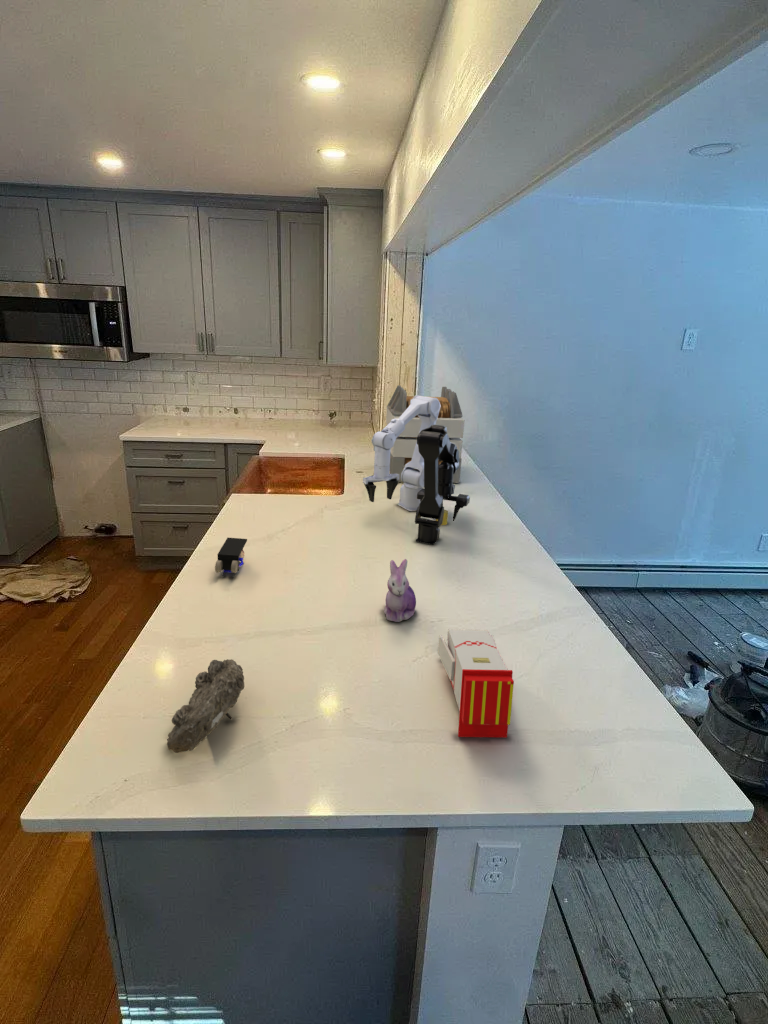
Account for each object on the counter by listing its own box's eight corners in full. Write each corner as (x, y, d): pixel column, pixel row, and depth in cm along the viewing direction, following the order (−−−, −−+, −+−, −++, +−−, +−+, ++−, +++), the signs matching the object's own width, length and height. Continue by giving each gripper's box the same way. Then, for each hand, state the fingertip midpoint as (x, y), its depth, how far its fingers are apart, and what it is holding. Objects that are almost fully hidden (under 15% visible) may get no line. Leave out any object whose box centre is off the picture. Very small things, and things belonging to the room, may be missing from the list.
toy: (488, 613, 130) (523, 677, 101) (484, 667, 133) (517, 744, 104) (435, 612, 130) (455, 676, 101) (432, 666, 133) (451, 743, 103)
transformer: (382, 463, 289) (386, 382, 275) (445, 464, 293) (451, 384, 279) (390, 482, 257) (394, 392, 243) (460, 483, 261) (468, 394, 247)
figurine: (392, 627, 141) (395, 572, 136) (374, 608, 149) (376, 556, 144) (425, 619, 145) (429, 566, 140) (405, 601, 154) (408, 550, 149)
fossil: (192, 660, 117) (244, 628, 112) (224, 691, 120) (276, 661, 115) (142, 746, 98) (202, 712, 93) (182, 779, 101) (242, 748, 96)
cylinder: (445, 521, 214) (446, 509, 212) (448, 525, 210) (449, 513, 208) (434, 521, 213) (435, 509, 212) (437, 525, 209) (438, 513, 208)
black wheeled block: (238, 584, 162) (249, 557, 175) (236, 562, 158) (247, 536, 172) (215, 584, 161) (227, 556, 175) (212, 561, 158) (225, 535, 171)
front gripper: (474, 476, 210) (470, 516, 215) (426, 470, 216) (423, 508, 221) (468, 484, 200) (464, 525, 206) (417, 477, 206) (415, 517, 211)
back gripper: (370, 469, 200) (368, 505, 205) (404, 465, 207) (402, 500, 212) (360, 464, 206) (359, 500, 210) (394, 460, 213) (392, 495, 217)
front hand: (441, 519), depth 211 cm, fingers open, 9 cm apart
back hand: (380, 499), depth 211 cm, fingers open, 7 cm apart
